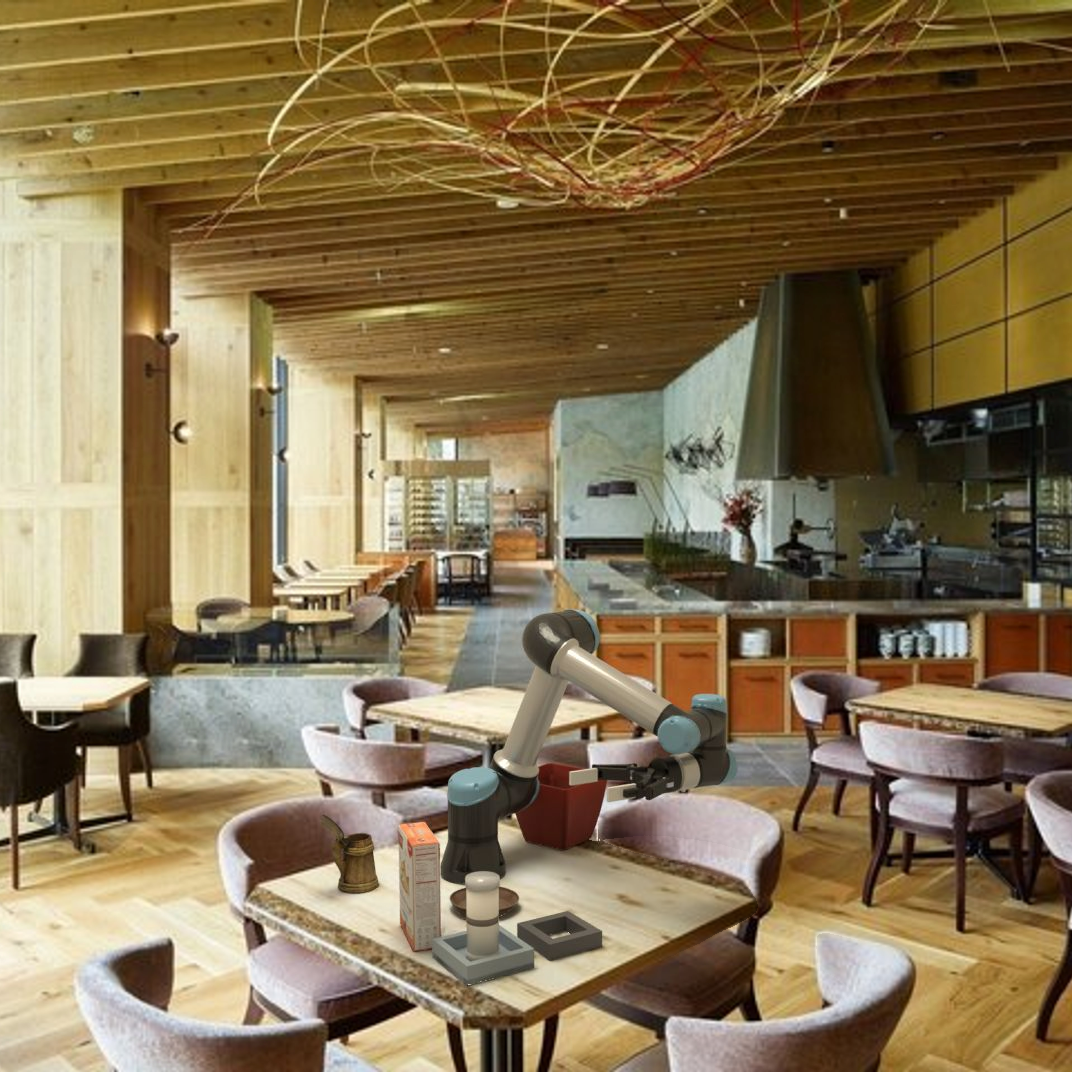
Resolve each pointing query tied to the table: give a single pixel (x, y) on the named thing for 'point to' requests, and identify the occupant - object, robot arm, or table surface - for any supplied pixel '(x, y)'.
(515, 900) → the saucer
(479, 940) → the cylinder
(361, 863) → the wooden mug
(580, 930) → the dark grey square frame
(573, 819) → the plant pot
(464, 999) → the table surface
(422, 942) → the cracker box
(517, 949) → the tray
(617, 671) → the robot arm
